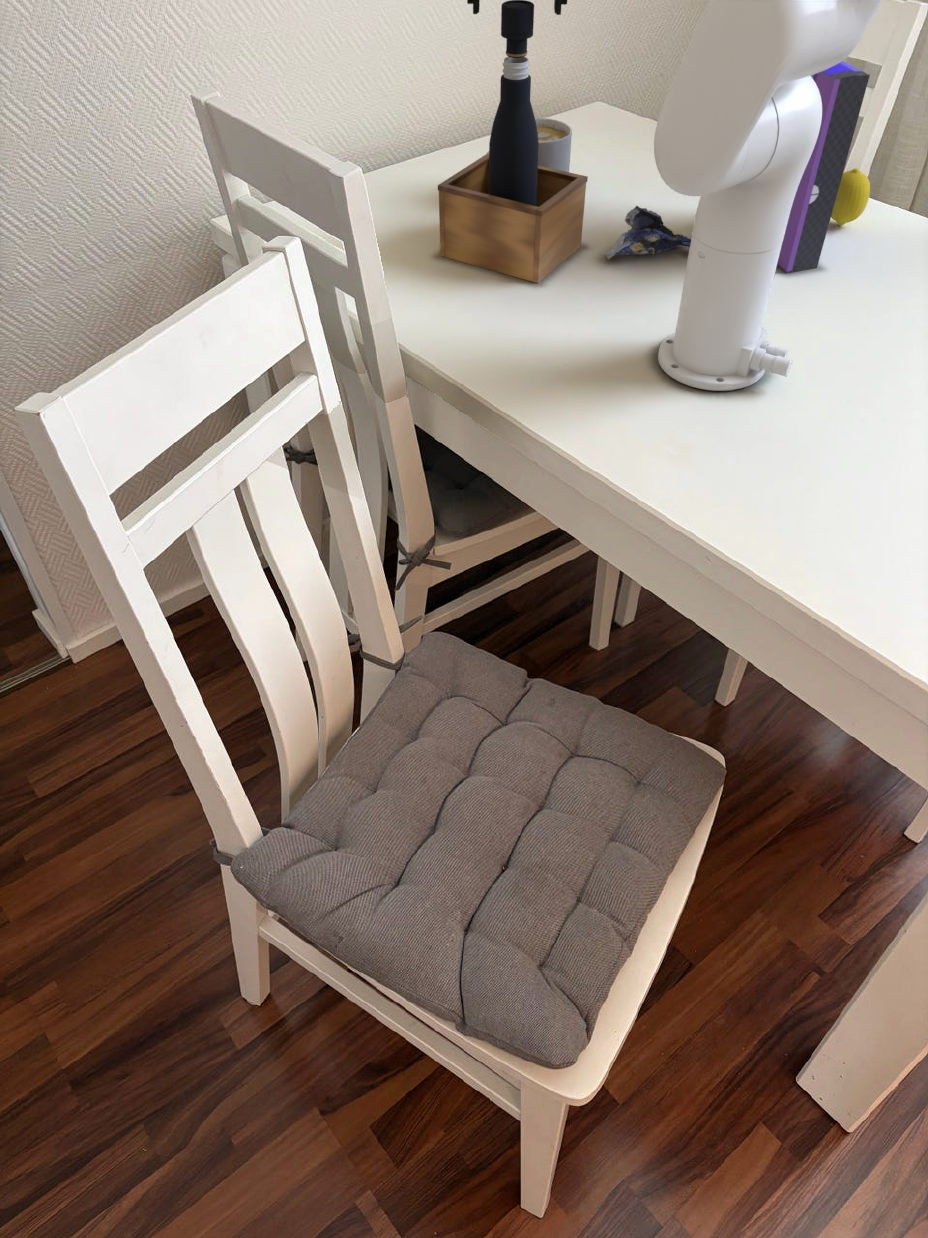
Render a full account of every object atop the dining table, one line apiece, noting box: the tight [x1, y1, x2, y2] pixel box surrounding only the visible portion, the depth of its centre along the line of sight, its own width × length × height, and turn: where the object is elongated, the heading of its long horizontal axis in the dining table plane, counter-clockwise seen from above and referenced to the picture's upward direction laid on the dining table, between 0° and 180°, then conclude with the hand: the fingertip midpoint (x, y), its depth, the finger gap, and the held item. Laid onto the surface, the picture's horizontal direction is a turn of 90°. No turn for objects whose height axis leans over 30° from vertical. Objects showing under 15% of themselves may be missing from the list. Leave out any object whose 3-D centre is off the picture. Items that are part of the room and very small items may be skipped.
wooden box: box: [437, 153, 589, 284], centre depth 129 cm, size 16×13×10 cm
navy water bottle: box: [488, 0, 539, 206], centre depth 122 cm, size 6×6×30 cm
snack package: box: [604, 205, 691, 261], centre depth 131 cm, size 12×6×12 cm
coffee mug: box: [486, 117, 573, 173], centre depth 141 cm, size 13×10×10 cm
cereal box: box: [777, 60, 871, 274], centre depth 125 cm, size 17×5×24 cm, turn 18°
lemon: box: [831, 167, 871, 227], centre depth 135 cm, size 6×6×8 cm
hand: (516, 10), depth 112 cm, fingers open, 9 cm apart
